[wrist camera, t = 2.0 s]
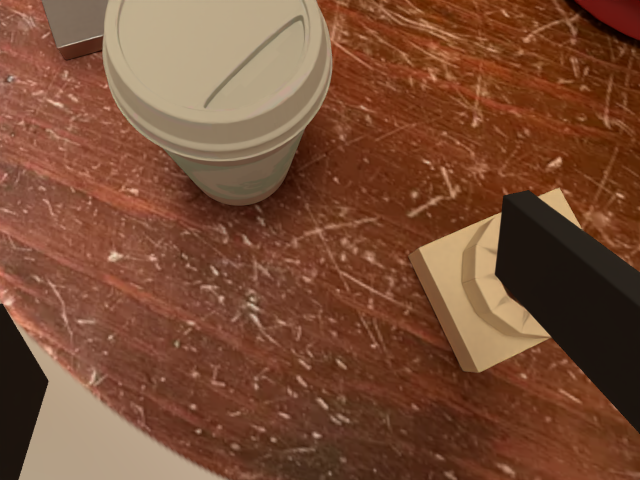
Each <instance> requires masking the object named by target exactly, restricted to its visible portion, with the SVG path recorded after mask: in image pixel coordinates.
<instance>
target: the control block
mask: <svg viewBox="0 0 640 480" xmlns="http://www.w3.org/2000/svg"><path fill="white" fill-rule="evenodd" d="M538 197H539V198H540V199H541V200H543V201H544V202H545V203H547V204H548V205H549V206H551V207H552V208H553V209H555V210H556V211H557V212H559V213H560V214H561V215H563V216H564V217H566V218H567V219H568V220H570V221H571V222H572V223H574V224H575V225H576V226H578V227H579V228H580V229H582V228H581V226H580V225H579V223H578V221H577V219H576V217H575V216H574V214H573V212H572V210H571V208H570V206H569V205H568V203H567V201H566V199H565V197H564V196H563V194H562V192H561V190H560V188H557V189H555V190H552V191H550V192H548V193H545V194H543V195H541V196H538ZM501 213H502V212H501ZM501 213H499V214H496V215H494V216H492V217H489V218H487V219H485V220H482V221H480V222H478V223H475V224H473V225H471V226H468V227H466V228H464V229H461V230H459V231H457V232H454V233H452V234H450V235H447V236H445V237H443V238H440V239H438V240H436V241H433V242H431V243H429V244H426V245H424V246H422V247H419V248H418V249H416V250H415V251H414V252H412V253H411V254H410V255H408V257H409V259H410V261H411V264H412V266H413V268H414V270H415V272H416V274H417V276H418V278H419V280H420V282H421V284H422V287H423V289H424V291H425V293H426V295H427V297H428V299H429V301H430V303H431V305H432V308H433V310H434V312H435V314H436V316H437V318H438V320H439V322H440V324H441V326H442V328H443V331H444V333H445V335H446V337H447V339H448V341H449V343H450V345H451V347H452V349H453V352H454V354H455V356H456V358H457V360H458V362H459V364H460V366H461V368H462V370H463V371H466V372H478V373H479V372H481V371H484V370H486V369H488V368H490V367H492V366H494V365H496V364H498V363H500V362H502V361H504V360H506V359H508V358H510V357H512V356H514V355H516V354H518V353H520V352H522V351H524V350H526V349H528V348H531V347H533V346H535V345H537V344H539V343H541V342H543V341H545V340H547V339H549V338H552V337H551V336H550V335H549V334H548V333H547V332H546V331H545V329H544V328H543V327H542V326H541V325H540V324H539V323H538V322H537V321H536V320H535V319H534V317H533V316H532V315H531V314H530V313H529V312H528V311H527V310H526V309H525V308H524V306H523V305H522V304H521V303H520V302H519V301H518V300H517V299H516V298H515V297H514V296H513V295H512V294H511V293H510V291H509V290H508V289H507V288H506V287H505V286H504V285H503V283H502V282H501V281H500V280H499V279H498V278H497V277H496V276H495V267H496V258H497V249H498V240H499V231H500V222H501Z"/></svg>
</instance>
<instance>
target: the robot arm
mask: <svg viewBox="0 0 640 480" xmlns="http://www.w3.org/2000/svg"><path fill="white" fill-rule="evenodd" d="M495 276H496V277H497V278H498V279H499V280H500V281H501V282H502V283H503V285H504V286H505V287H506V288H507V289H508V290H509V291H510V292H511V293H512V294H513V296H514V297H515V298H516V299H517V300H518V301H519V302H520V303H521V304H522V305H523V306H524V308H525V309H526V310H527V311H528V312H529V313H530V314H531V315H532V316H533V317H534V319H535V320H536V321H537V322H538V323H539V324H540V325H541V326H542V327H543V328H544V329H545V331H546V332H547V333H548V334H549V335H550V336H551V337H552V338H553V339H554V340H555V342H556V343H557V344H558V345H559V346H560V347H561V348H562V349H563V350H564V351H565V352H566V354H567V355H568V356H569V357H570V358H571V359H572V360H573V361H574V362H575V363H576V365H577V366H578V367H579V368H580V369H581V370H582V371H583V372H584V373H585V374H586V375H587V377H588V378H589V379H590V380H591V381H592V382H593V383H594V384H595V385H596V386H597V388H598V389H599V390H600V391H601V392H602V393H603V394H604V395H605V396H606V397H607V398H608V400H609V401H610V402H611V403H612V404H613V405H614V406H615V407H616V408H617V409H618V411H619V412H620V413H621V414H622V415H623V416H624V417H625V418H626V419H627V420H628V421H629V423H630V424H631V425H632V426H633V427H634V428H635V429H636V430H637V431H638V432H639V434H640V272H639V271H637V270H636V269H634V268H633V267H632V266H630V265H629V264H628V263H626V262H625V261H624V260H622V259H621V258H620V257H618V256H617V255H616V254H614V253H613V252H612V251H610V250H609V249H607V248H606V247H605V246H603V245H602V244H601V243H599V242H598V241H597V240H595V239H594V238H593V237H591V236H590V235H589V234H587V233H586V232H584V231H583V230H582V229H580V228H579V227H578V226H576V225H575V224H574V223H572V222H571V221H570V220H568V219H567V218H566V217H564V216H563V215H561V214H560V213H559V212H557V211H556V210H555V209H553V208H552V207H551V206H549V205H548V204H547V203H545V202H544V201H543V200H541V199H540V198H539V197H537V196H536V195H534V194H533V193H532V192H530V191H529V190H527V191H523V192H518V193H513V194H509V195H504V196H503V204H502V213H501V222H500V231H499V240H498V249H497V258H496V267H495ZM47 385H48V379H47V377H46V376H45V374H44V373H43V371H42V369H41V367H40V366H39V364H38V362H37V361H36V359H35V357H34V356H33V354H32V352H31V351H30V349H29V347H28V346H27V344H26V342H25V341H24V339H23V337H22V336H21V334H20V332H19V330H18V329H17V327H16V325H15V324H14V322H13V320H12V319H11V317H10V315H9V314H8V312H7V310H6V309H5V307H4V305H3V304H0V480H18V479H19V476H20V473H21V470H22V466H23V463H24V460H25V457H26V453H27V450H28V447H29V444H30V440H31V437H32V434H33V430H34V427H35V424H36V421H37V417H38V414H39V411H40V408H41V405H42V401H43V398H44V395H45V392H46V388H47Z"/></svg>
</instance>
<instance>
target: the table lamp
mask: <svg viewBox="0 0 640 480" xmlns="http://www.w3.org/2000/svg"><path fill="white" fill-rule="evenodd" d="M574 2H575V3H577V4H578V5H579V6H581V7H582V8H583V9H584V10H586V11H587V12H588V13H590V14H591V15H592V16H593V17H595V18H596V19H597V20H599V21H601V22H603V23H604V24H606V25H608V26H610V27H612V28H613V29H615V30H617V31H619V32H621V33H623V34H625V35H627V36H630V37H632V38H634V39H637V40H639V41H640V0H574Z"/></svg>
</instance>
